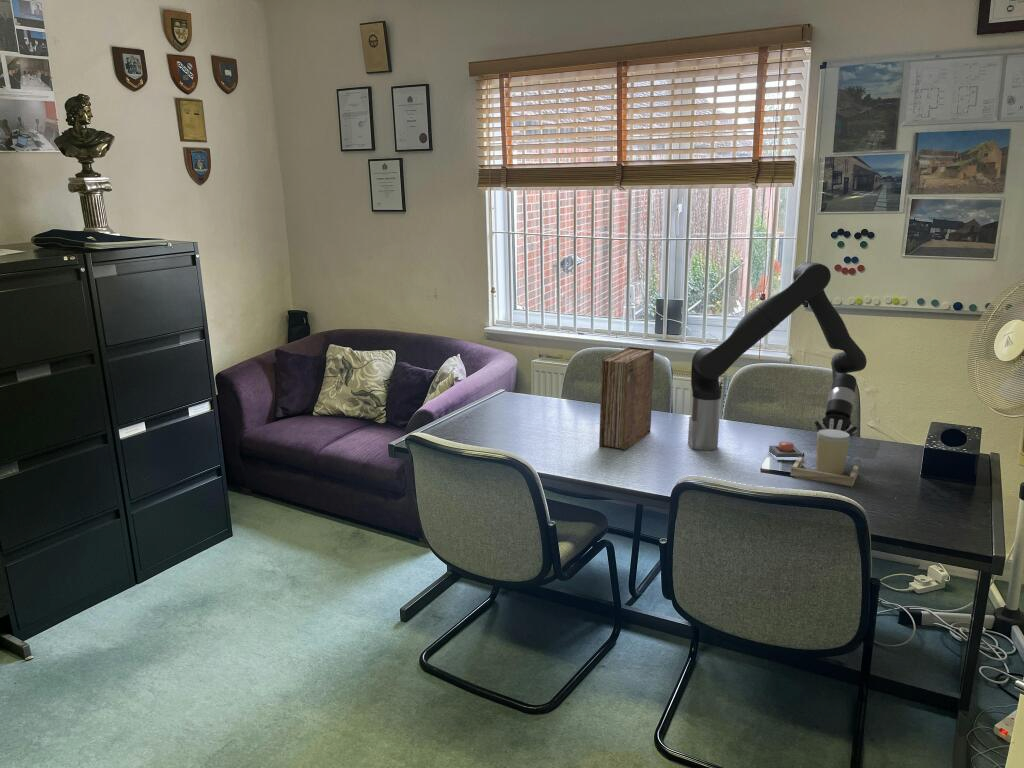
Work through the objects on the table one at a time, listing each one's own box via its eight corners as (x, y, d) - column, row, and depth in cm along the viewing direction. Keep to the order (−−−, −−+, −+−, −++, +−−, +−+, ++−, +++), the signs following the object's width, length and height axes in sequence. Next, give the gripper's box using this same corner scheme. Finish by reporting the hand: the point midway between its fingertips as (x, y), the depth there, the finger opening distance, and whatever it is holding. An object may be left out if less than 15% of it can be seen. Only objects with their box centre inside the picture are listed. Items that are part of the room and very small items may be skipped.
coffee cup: (841, 466, 236) (845, 429, 233) (850, 476, 227) (854, 438, 224) (810, 464, 237) (813, 428, 234) (817, 475, 228) (821, 437, 225)
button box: (776, 460, 241) (777, 453, 241) (768, 452, 249) (769, 445, 248) (802, 460, 241) (802, 453, 241) (793, 452, 249) (793, 445, 248)
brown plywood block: (624, 451, 250) (628, 362, 243) (598, 447, 254) (601, 359, 247) (650, 431, 271) (654, 349, 264) (626, 428, 276) (629, 346, 269)
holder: (852, 486, 219) (853, 478, 219) (790, 475, 228) (791, 468, 227) (857, 474, 230) (858, 466, 229) (798, 464, 238) (798, 456, 237)
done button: (781, 454, 243) (781, 445, 242) (776, 450, 247) (777, 441, 246) (794, 454, 243) (795, 445, 242) (790, 450, 247) (790, 441, 246)
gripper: (817, 395, 243) (807, 442, 236) (862, 400, 237) (853, 449, 229) (818, 407, 249) (808, 453, 241) (862, 413, 242) (854, 460, 235)
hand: (830, 451), depth 235 cm, fingers closed
